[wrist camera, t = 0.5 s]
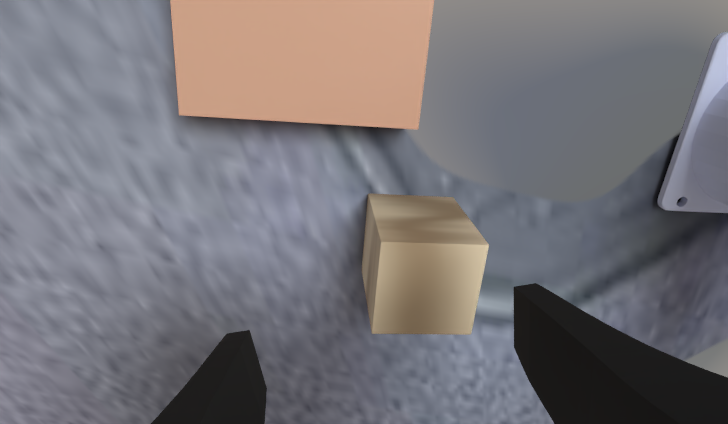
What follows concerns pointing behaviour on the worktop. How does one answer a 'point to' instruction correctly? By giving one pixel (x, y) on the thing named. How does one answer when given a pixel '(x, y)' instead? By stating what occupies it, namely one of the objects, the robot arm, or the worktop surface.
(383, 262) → the beech block
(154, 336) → the worktop surface
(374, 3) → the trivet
